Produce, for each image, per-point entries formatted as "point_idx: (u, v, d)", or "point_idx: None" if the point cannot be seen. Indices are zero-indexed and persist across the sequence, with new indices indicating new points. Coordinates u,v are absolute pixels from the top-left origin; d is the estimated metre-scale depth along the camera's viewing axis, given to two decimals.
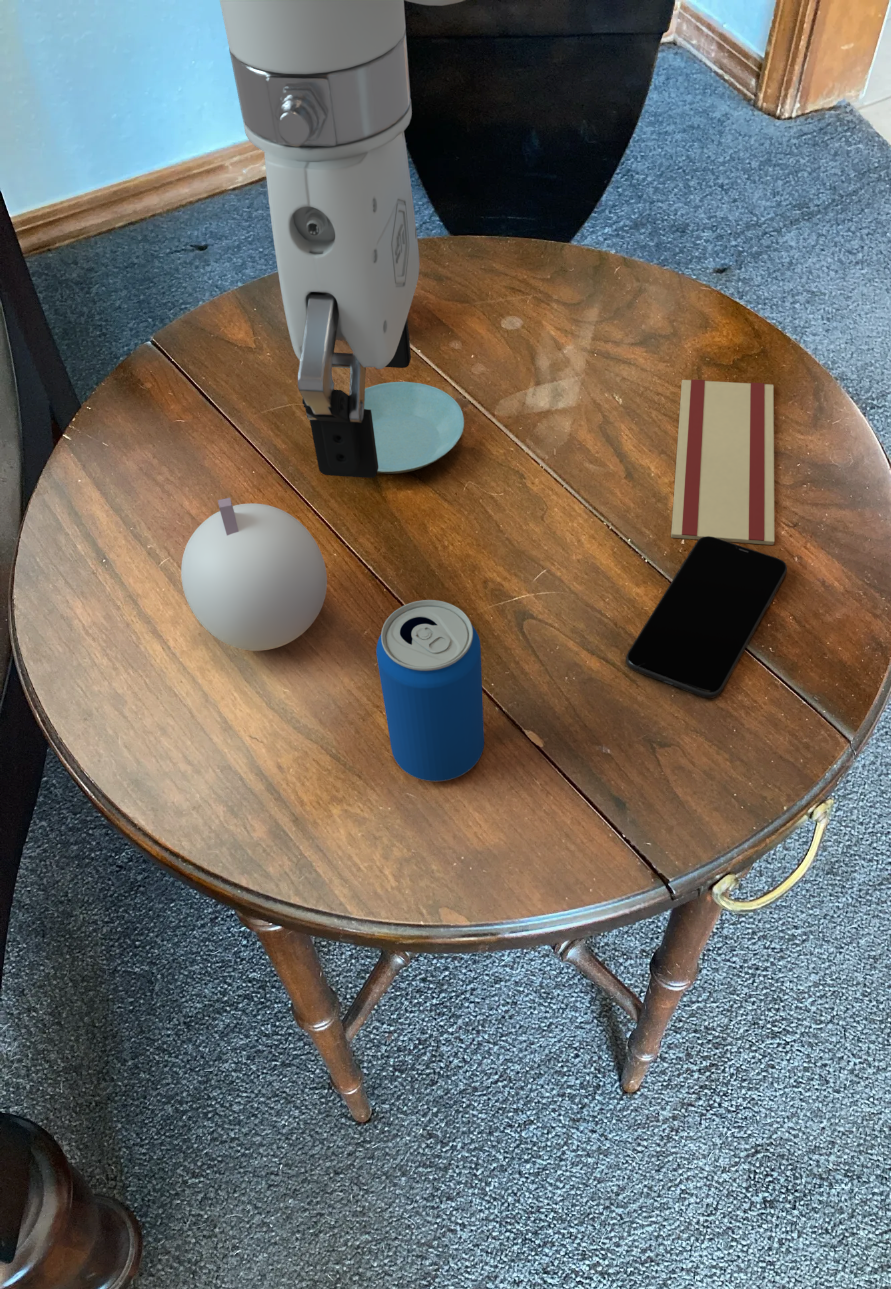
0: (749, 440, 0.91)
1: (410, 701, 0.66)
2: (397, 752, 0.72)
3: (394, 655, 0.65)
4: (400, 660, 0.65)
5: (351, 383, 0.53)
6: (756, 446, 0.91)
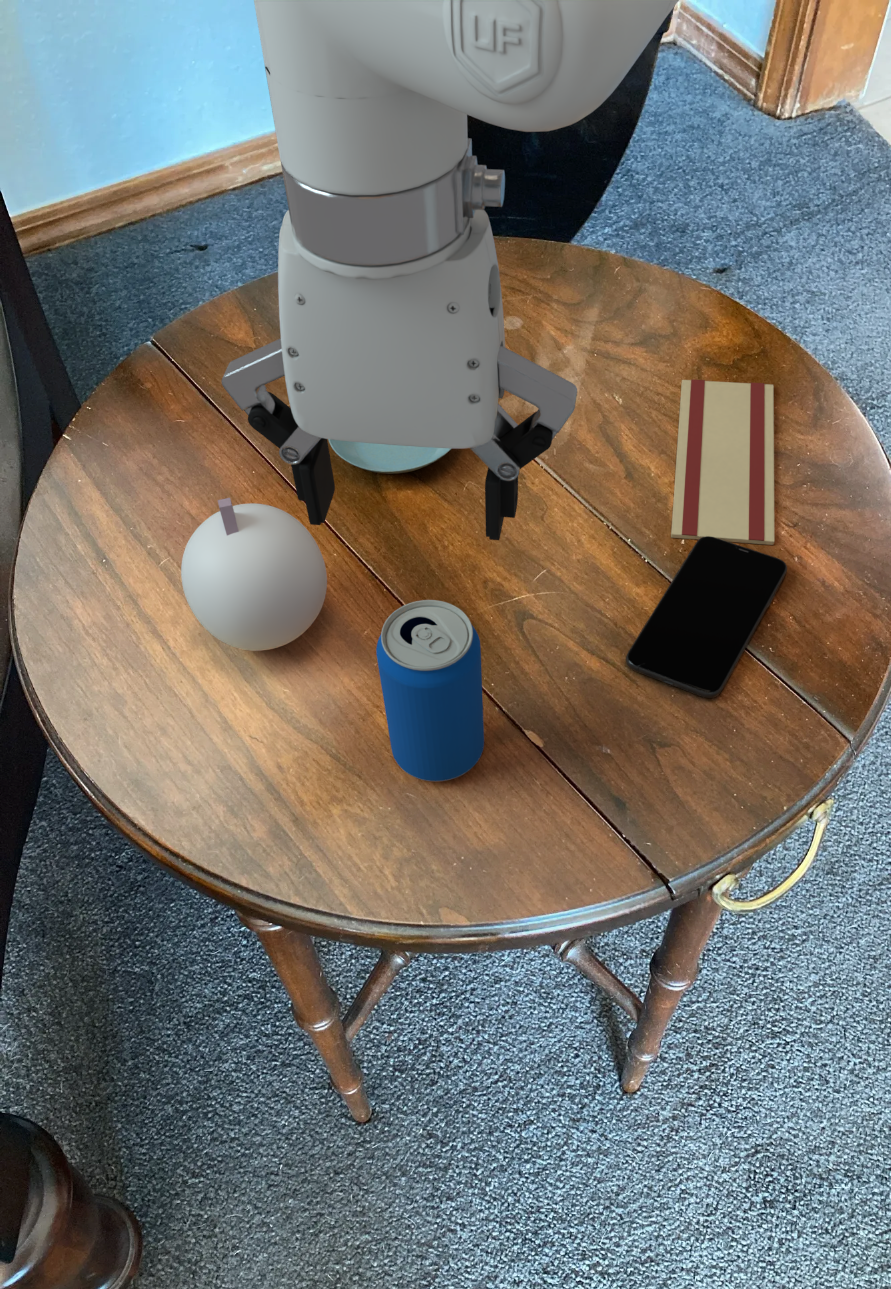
0: (749, 440, 0.91)
1: (410, 701, 0.66)
2: (397, 752, 0.72)
3: (394, 655, 0.65)
4: (400, 660, 0.65)
5: (507, 418, 0.53)
6: (756, 446, 0.91)
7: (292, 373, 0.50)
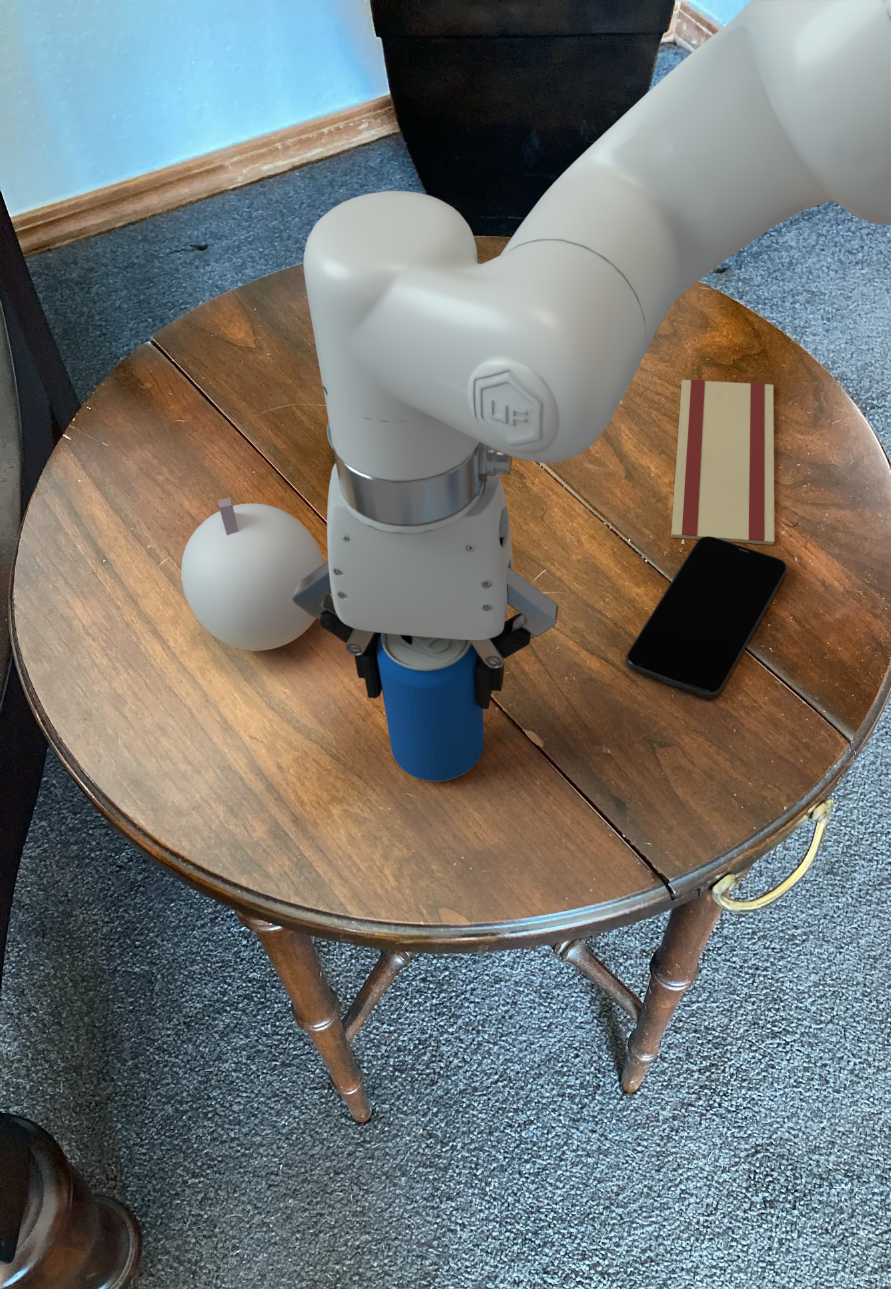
0: (749, 440, 0.91)
1: (410, 701, 0.66)
2: (397, 752, 0.72)
3: (394, 655, 0.65)
4: (400, 660, 0.65)
5: None
6: (756, 446, 0.91)
7: (337, 586, 0.60)
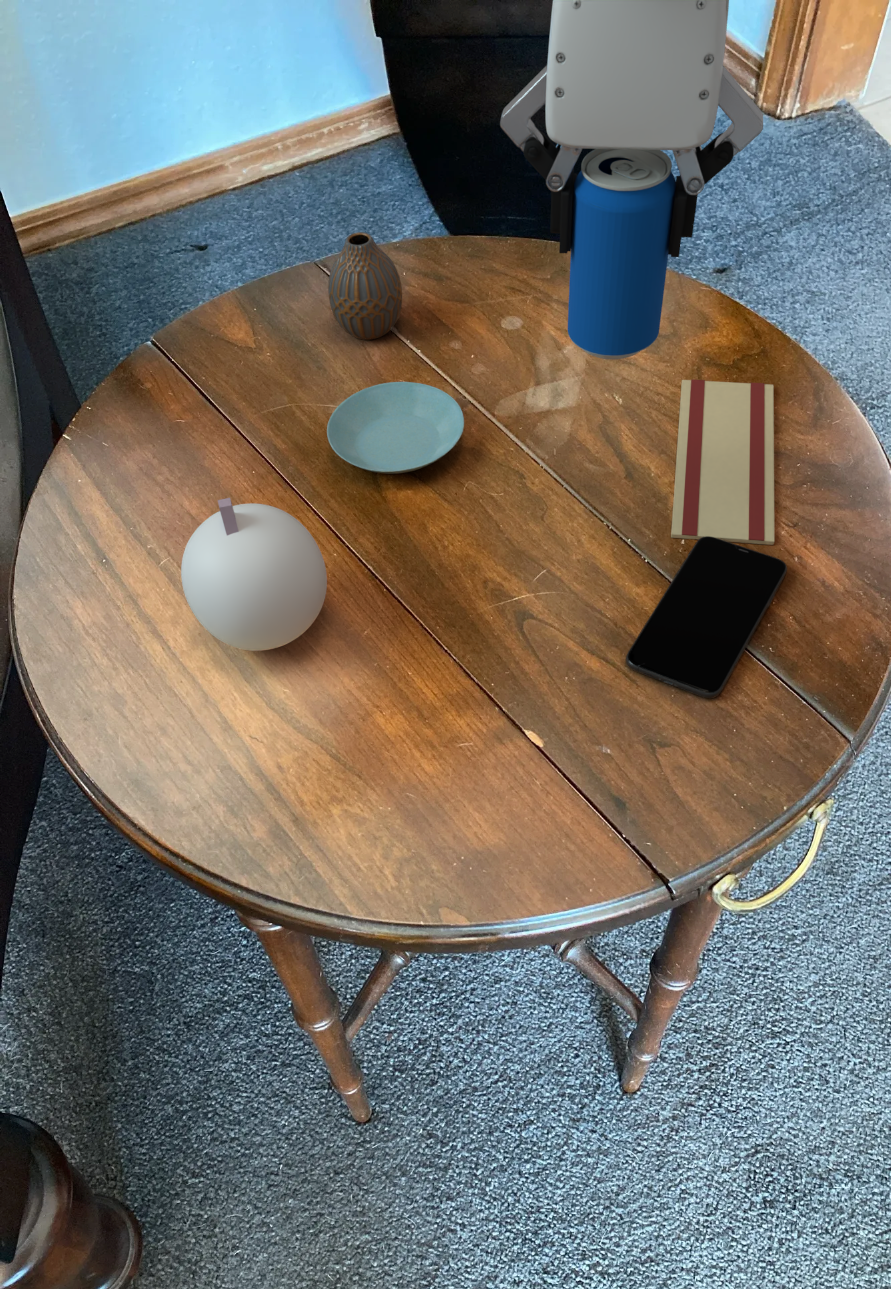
0: (749, 440, 0.91)
1: (608, 236, 0.68)
2: (579, 325, 0.74)
3: None
4: None
5: None
6: (756, 446, 0.91)
7: (556, 79, 0.62)
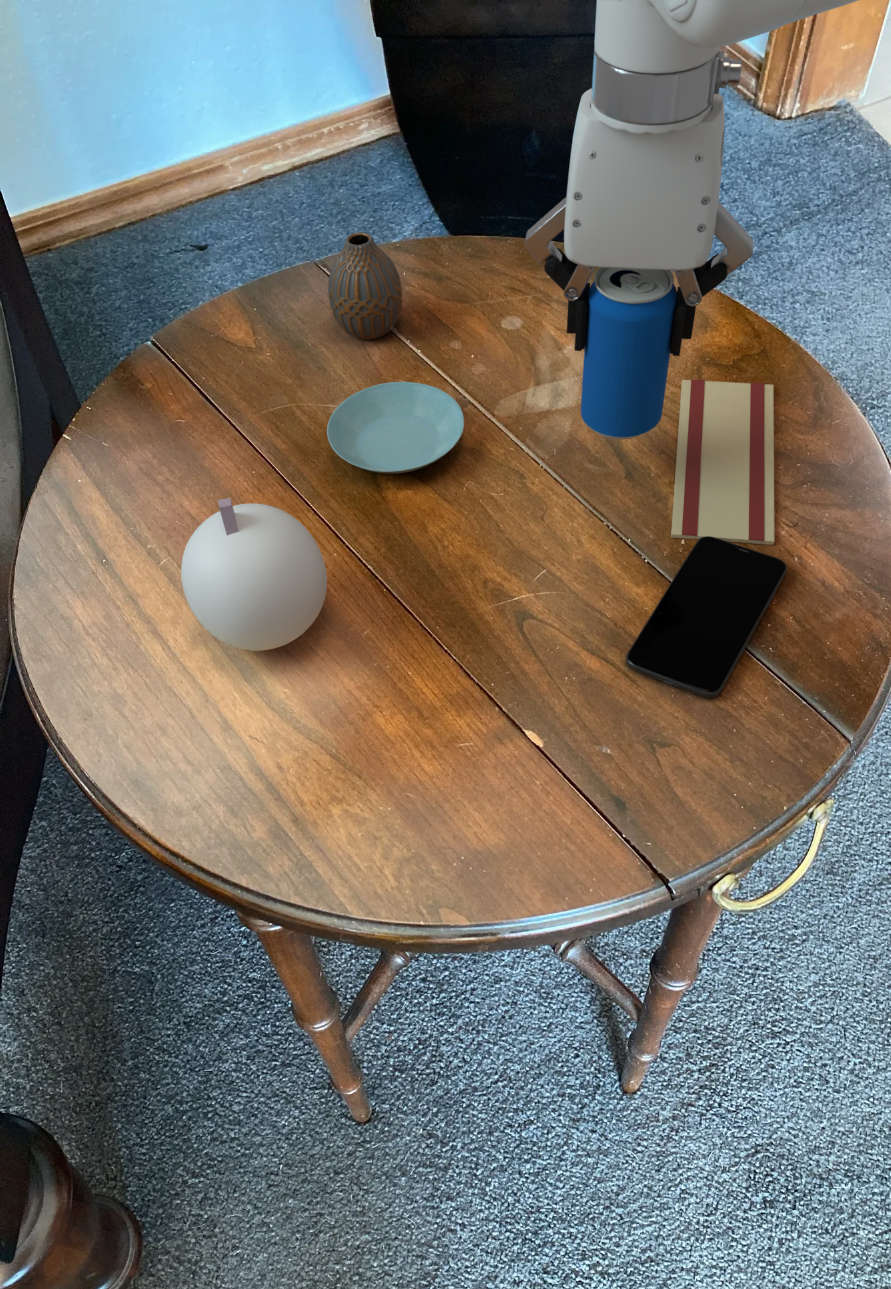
0: (749, 440, 0.91)
1: (617, 339, 0.78)
2: (591, 410, 0.84)
3: (608, 294, 0.77)
4: None
5: None
6: (756, 446, 0.91)
7: (574, 213, 0.72)
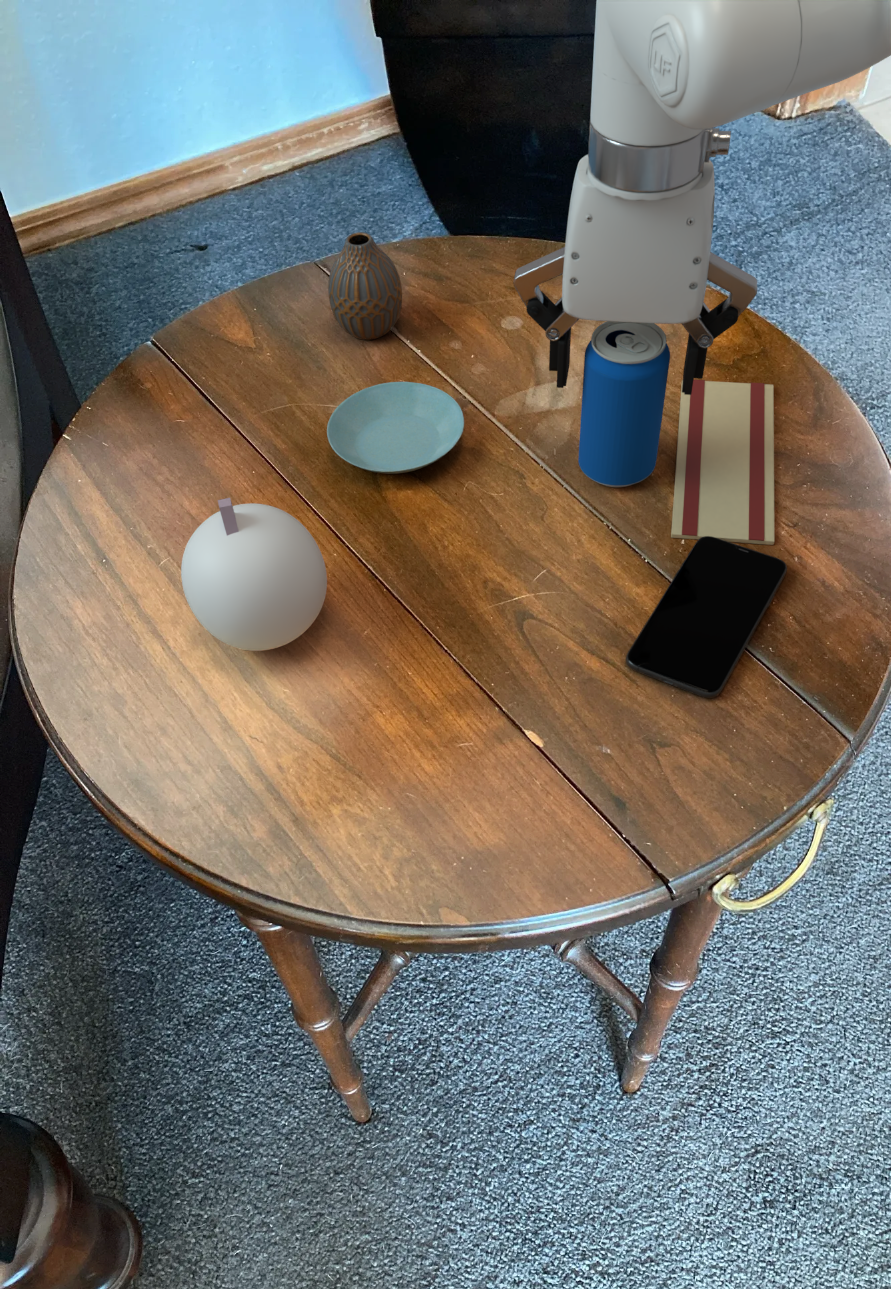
0: (749, 440, 0.91)
1: (613, 397, 0.82)
2: (588, 460, 0.88)
3: (603, 354, 0.80)
4: (609, 358, 0.80)
5: (704, 305, 0.79)
6: (756, 446, 0.91)
7: (571, 271, 0.75)
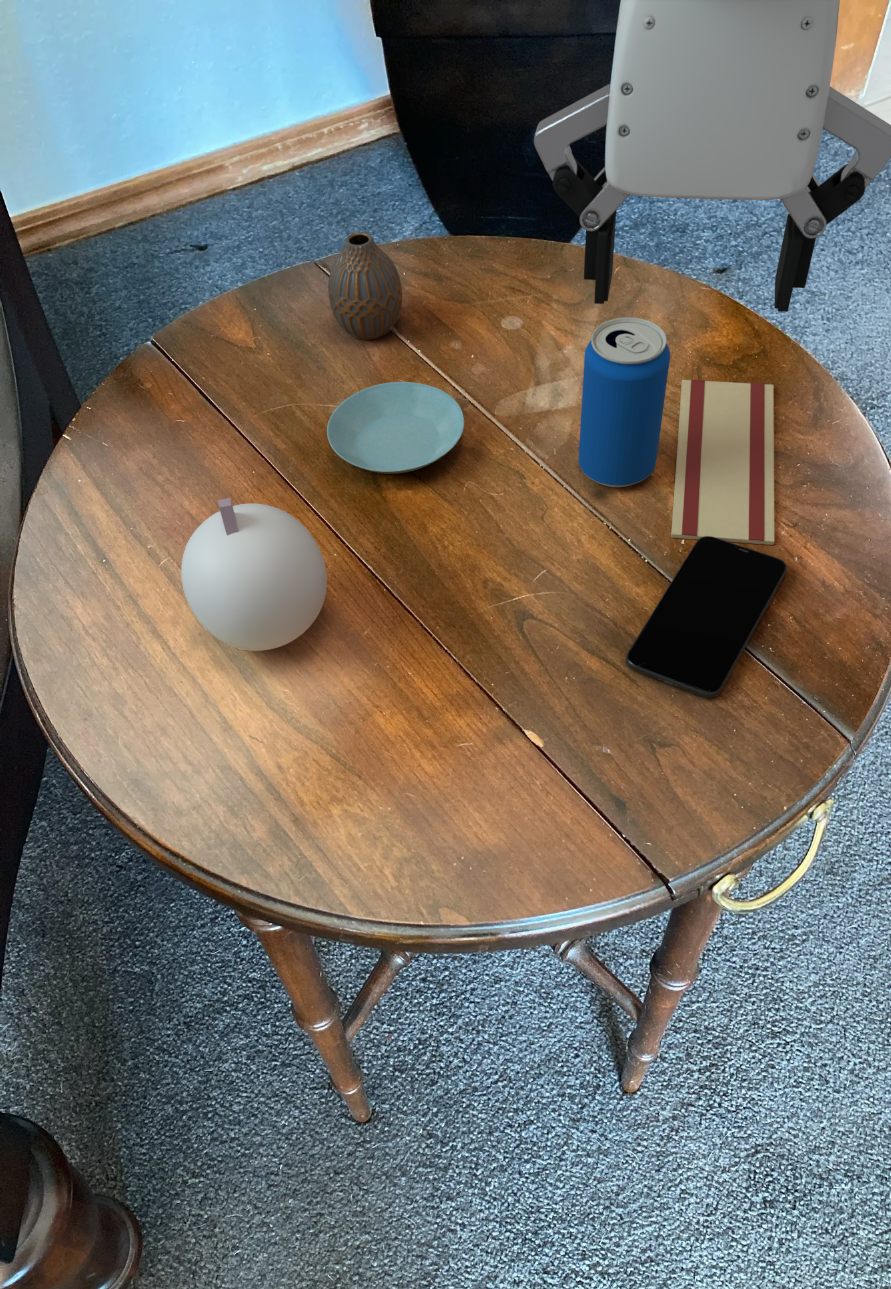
0: (749, 440, 0.91)
1: (613, 397, 0.82)
2: (588, 460, 0.88)
3: (604, 355, 0.80)
4: (609, 358, 0.80)
5: (812, 176, 0.54)
6: (756, 446, 0.91)
7: (620, 114, 0.50)
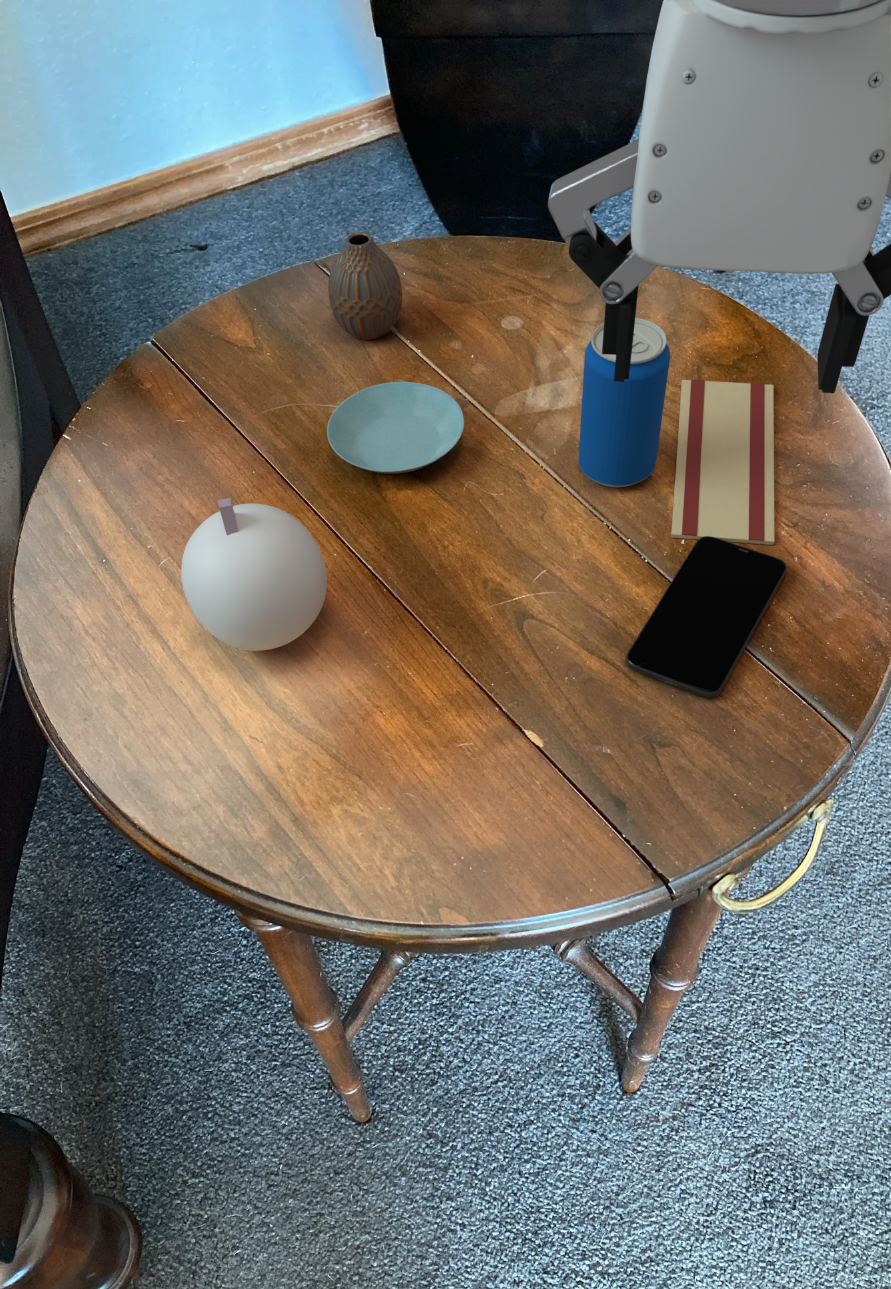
0: (749, 440, 0.91)
1: (613, 397, 0.82)
2: (588, 460, 0.88)
3: (604, 355, 0.80)
4: (609, 358, 0.80)
5: None
6: (756, 446, 0.91)
7: (651, 179, 0.43)
